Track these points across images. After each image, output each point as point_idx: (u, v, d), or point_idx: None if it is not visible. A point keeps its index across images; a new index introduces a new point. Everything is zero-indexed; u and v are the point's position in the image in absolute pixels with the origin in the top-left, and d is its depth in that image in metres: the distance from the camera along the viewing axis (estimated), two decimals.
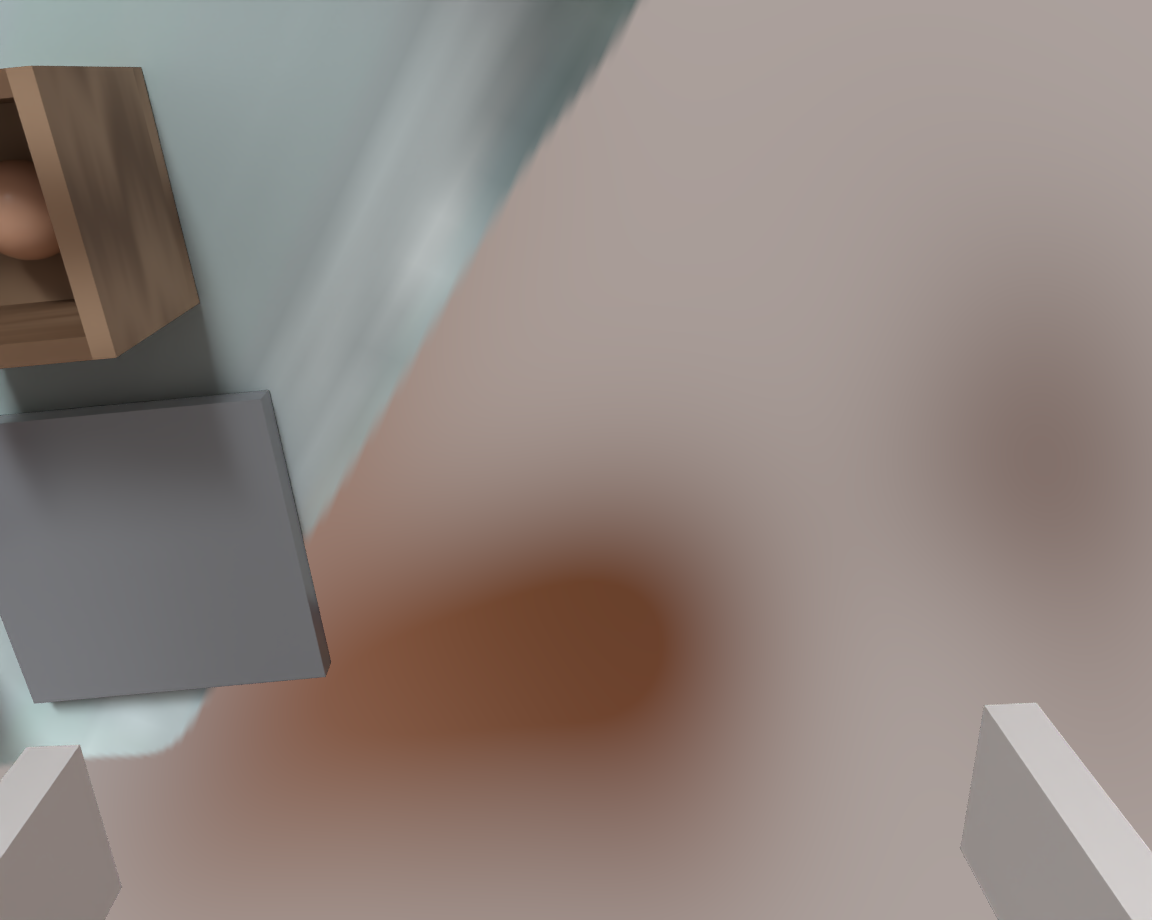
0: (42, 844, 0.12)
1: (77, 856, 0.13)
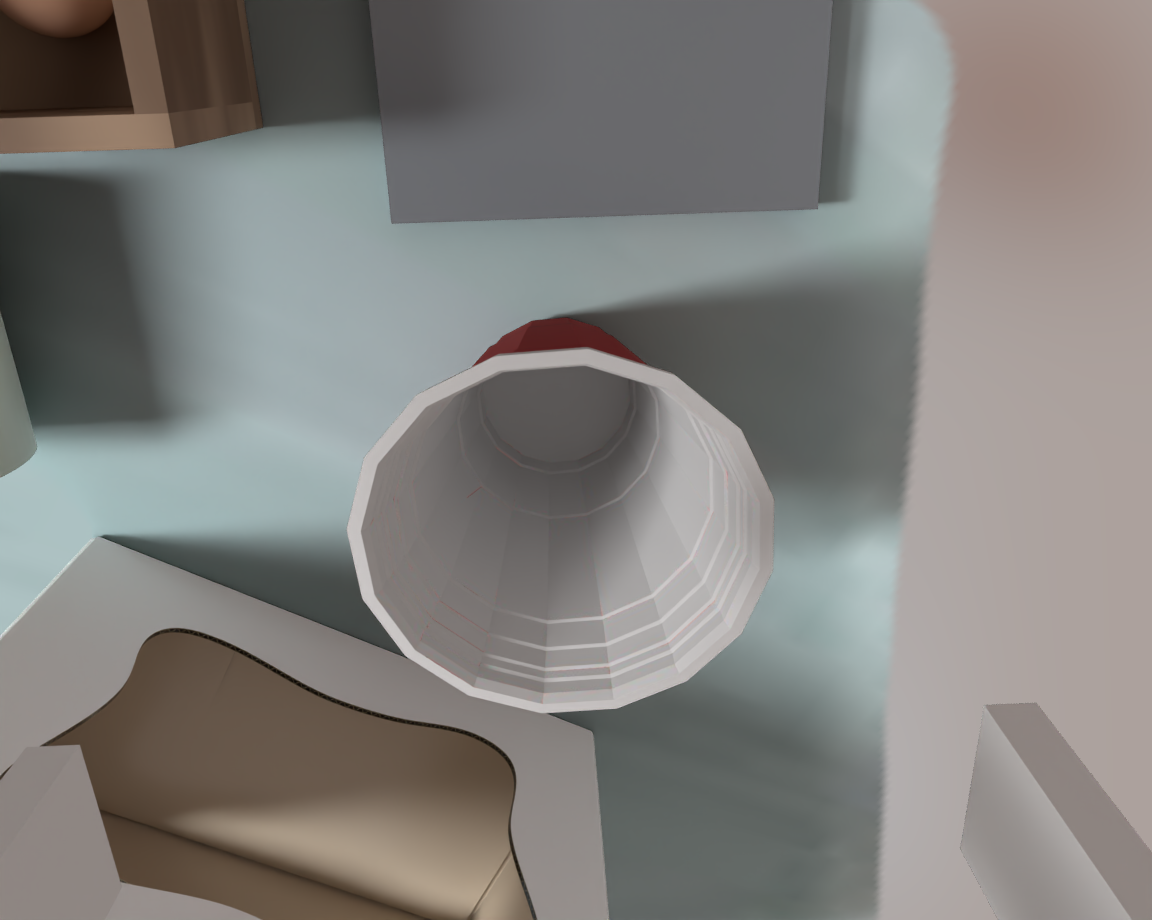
0: (43, 843, 0.12)
1: (77, 856, 0.13)
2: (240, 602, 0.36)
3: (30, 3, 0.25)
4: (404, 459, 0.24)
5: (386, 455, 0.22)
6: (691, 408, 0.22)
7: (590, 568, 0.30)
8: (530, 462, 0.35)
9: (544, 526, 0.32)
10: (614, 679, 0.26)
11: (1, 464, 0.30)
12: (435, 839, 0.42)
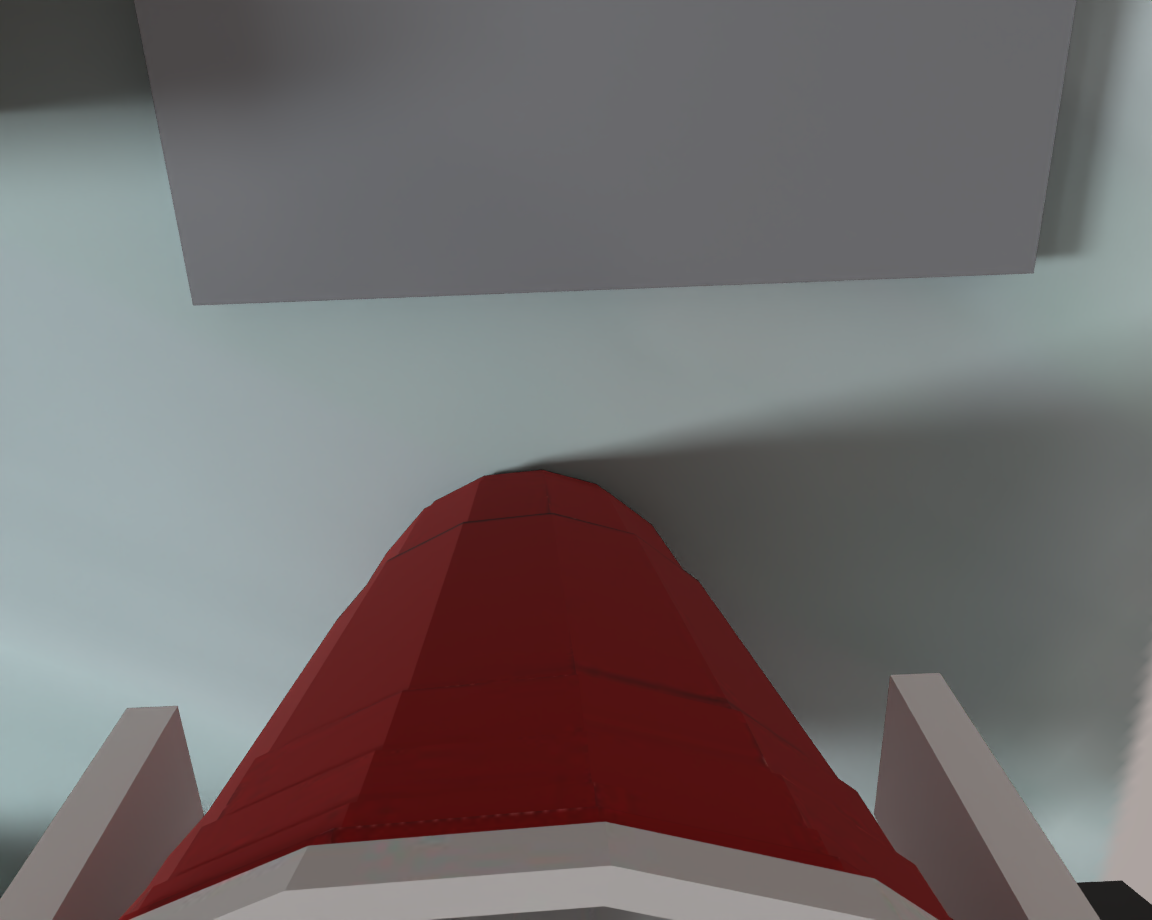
0: (150, 795, 0.13)
1: (176, 810, 0.14)
2: None
3: None
4: None
5: None
6: None
7: None
8: None
9: None
10: None
11: None
12: None
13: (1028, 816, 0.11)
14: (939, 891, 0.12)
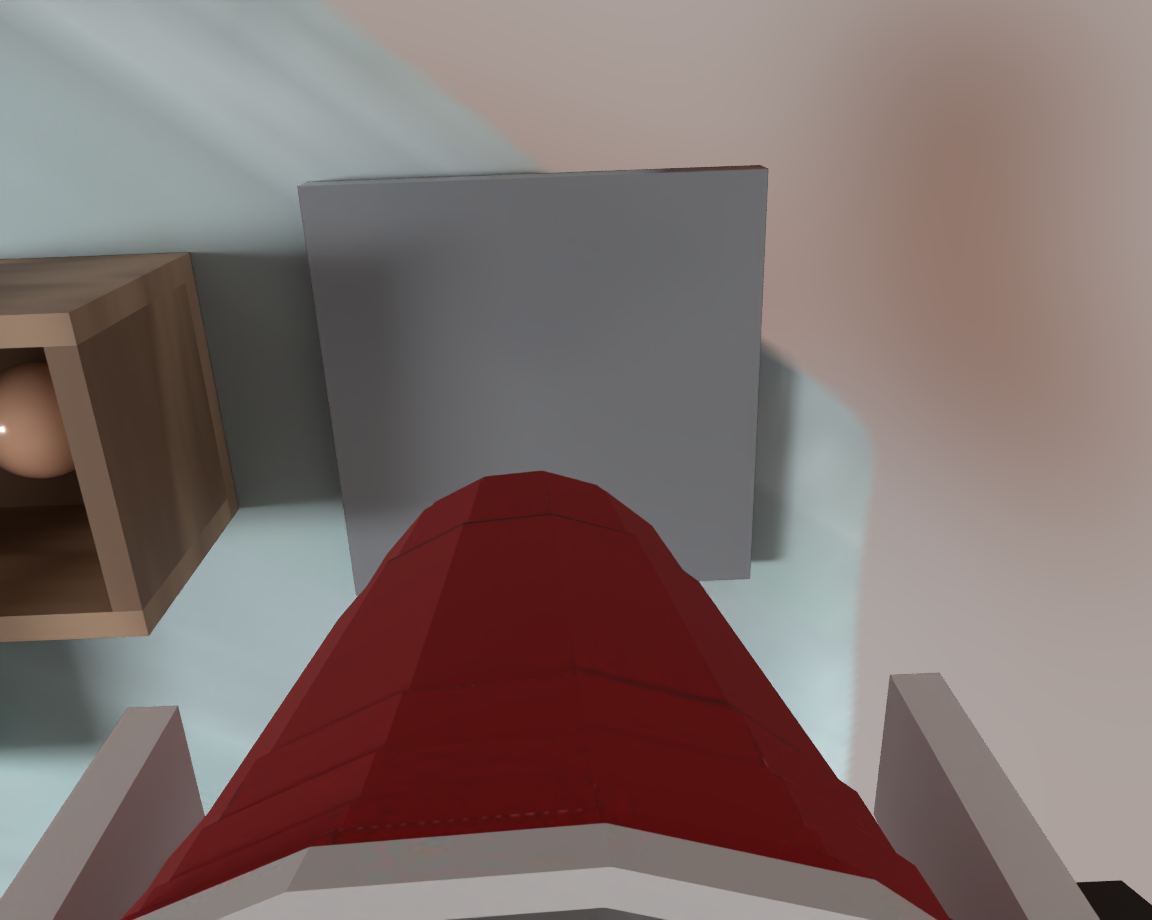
0: (150, 794, 0.13)
1: (177, 810, 0.14)
2: None
3: (23, 468, 0.28)
4: None
5: None
6: None
7: None
8: None
9: None
10: None
11: None
12: None
13: (1026, 815, 0.11)
14: (939, 891, 0.12)
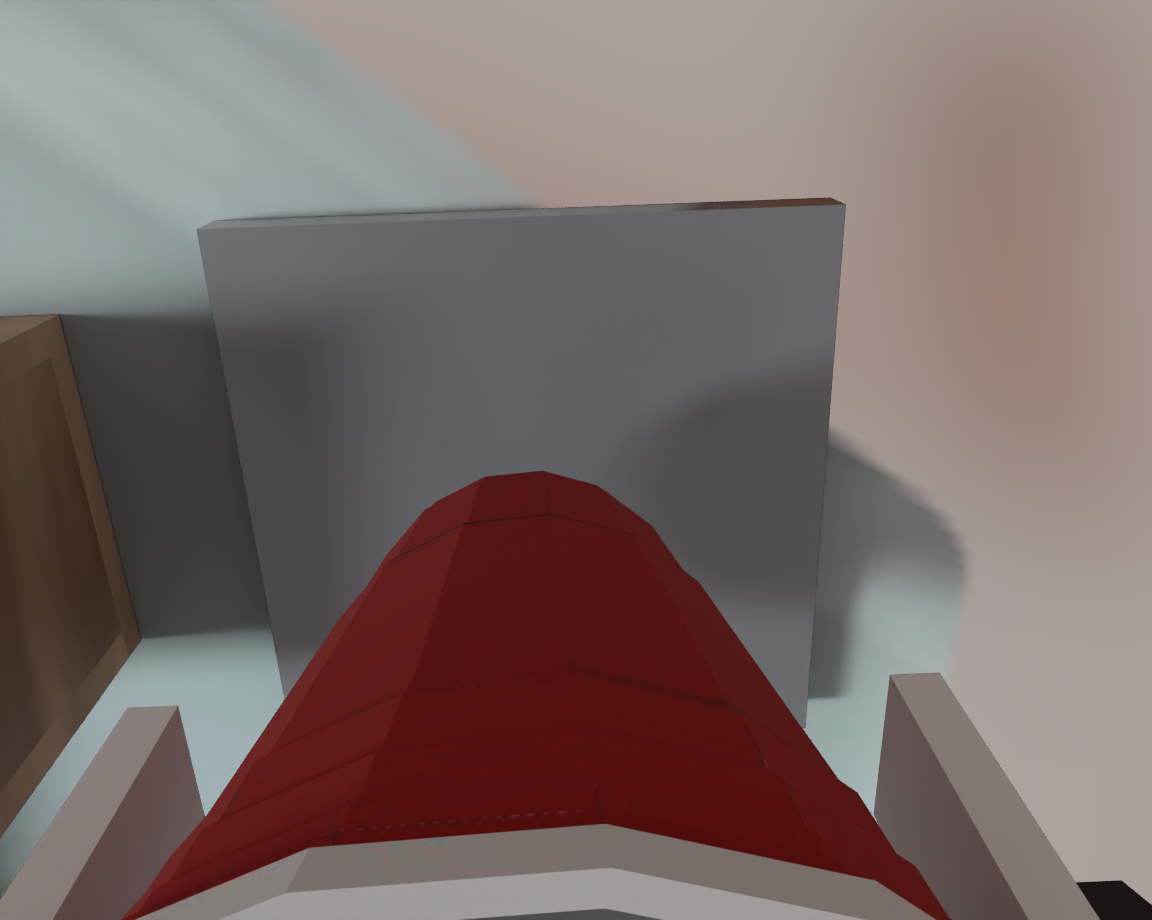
0: (151, 795, 0.13)
1: (177, 810, 0.14)
2: None
3: None
4: None
5: None
6: None
7: None
8: None
9: None
10: None
11: None
12: None
13: (1027, 816, 0.11)
14: (939, 891, 0.12)
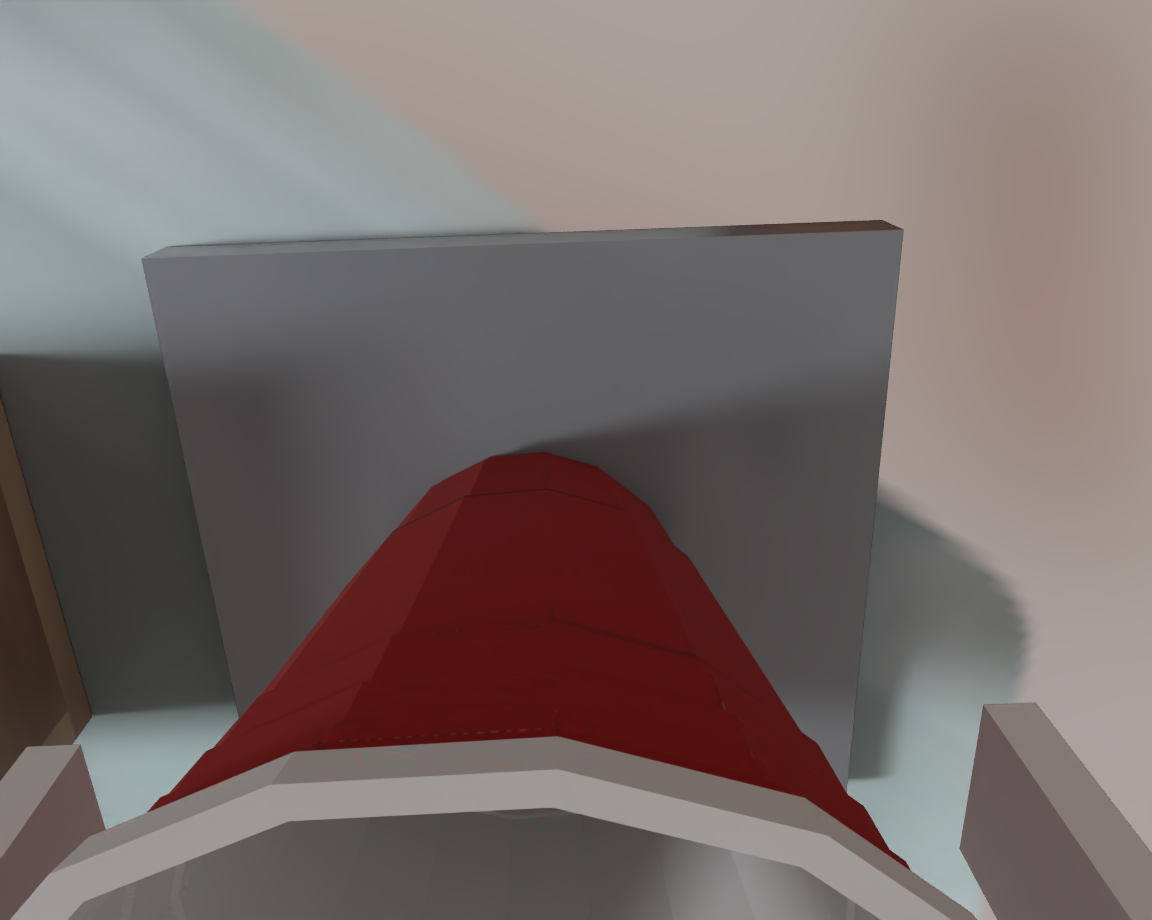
0: (43, 843, 0.12)
1: None
2: None
3: None
4: (123, 901, 0.10)
5: None
6: (865, 908, 0.07)
7: None
8: None
9: (502, 841, 0.17)
10: None
11: None
12: None
13: None
14: None
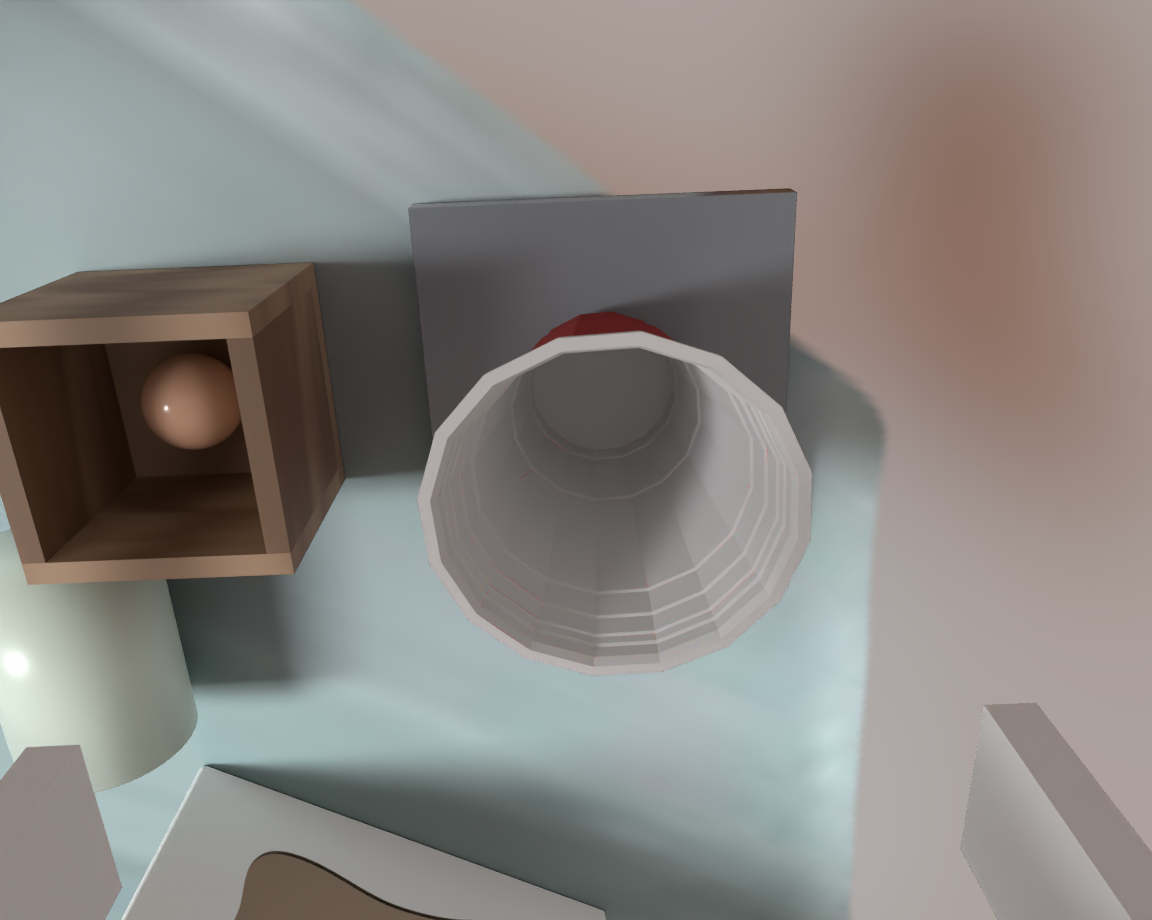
0: (43, 843, 0.12)
1: (77, 856, 0.13)
2: (318, 817, 0.45)
3: (183, 440, 0.34)
4: (468, 437, 0.26)
5: (455, 430, 0.24)
6: (736, 387, 0.24)
7: (635, 545, 0.32)
8: (576, 449, 0.37)
9: (591, 507, 0.34)
10: (660, 644, 0.28)
11: (193, 720, 0.40)
12: None
13: None
14: None
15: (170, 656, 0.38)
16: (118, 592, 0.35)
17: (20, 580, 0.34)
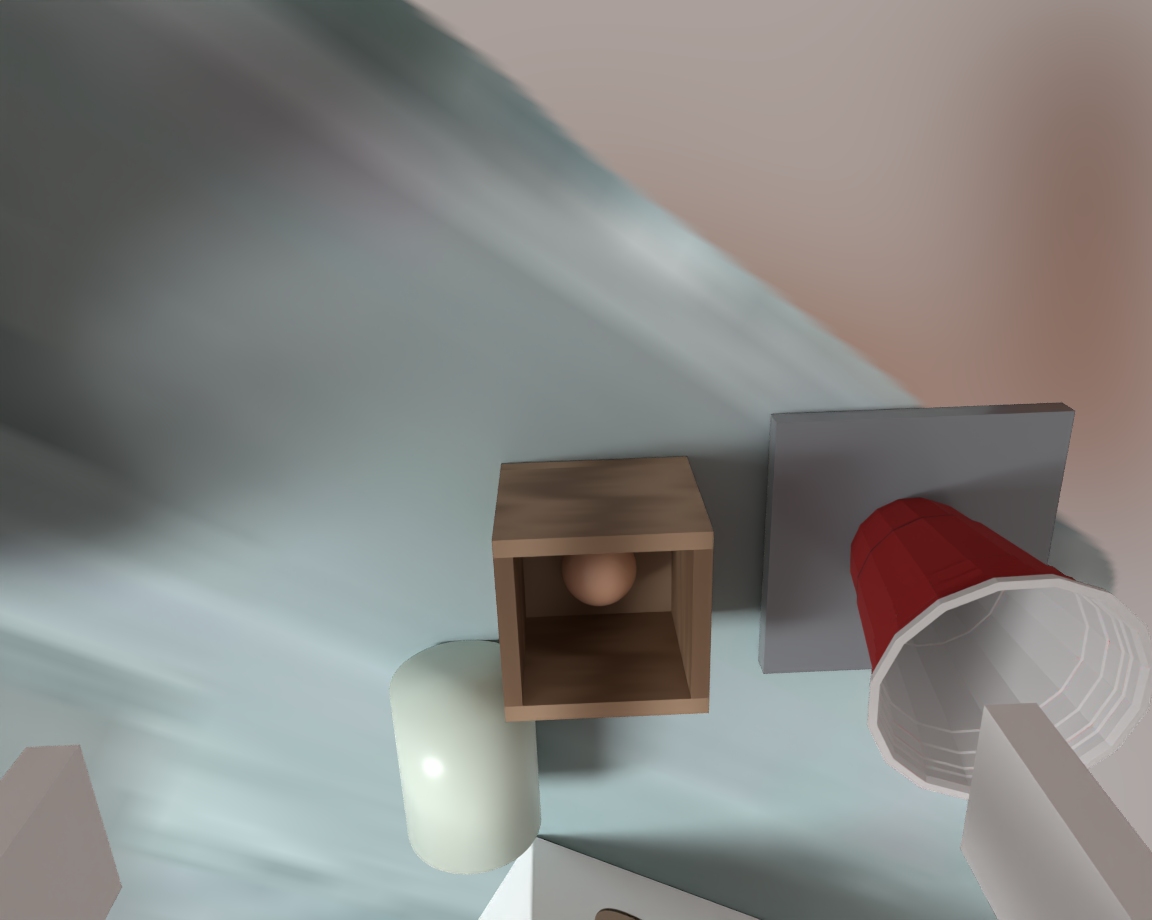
0: (41, 844, 0.12)
1: (77, 856, 0.13)
2: (624, 877, 0.54)
3: (600, 602, 0.43)
4: None
5: (910, 639, 0.34)
6: (1117, 612, 0.34)
7: (965, 689, 0.42)
8: None
9: (915, 653, 0.44)
10: None
11: (540, 819, 0.49)
12: None
13: None
14: None
15: (533, 772, 0.47)
16: (510, 727, 0.44)
17: (442, 711, 0.43)
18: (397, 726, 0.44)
